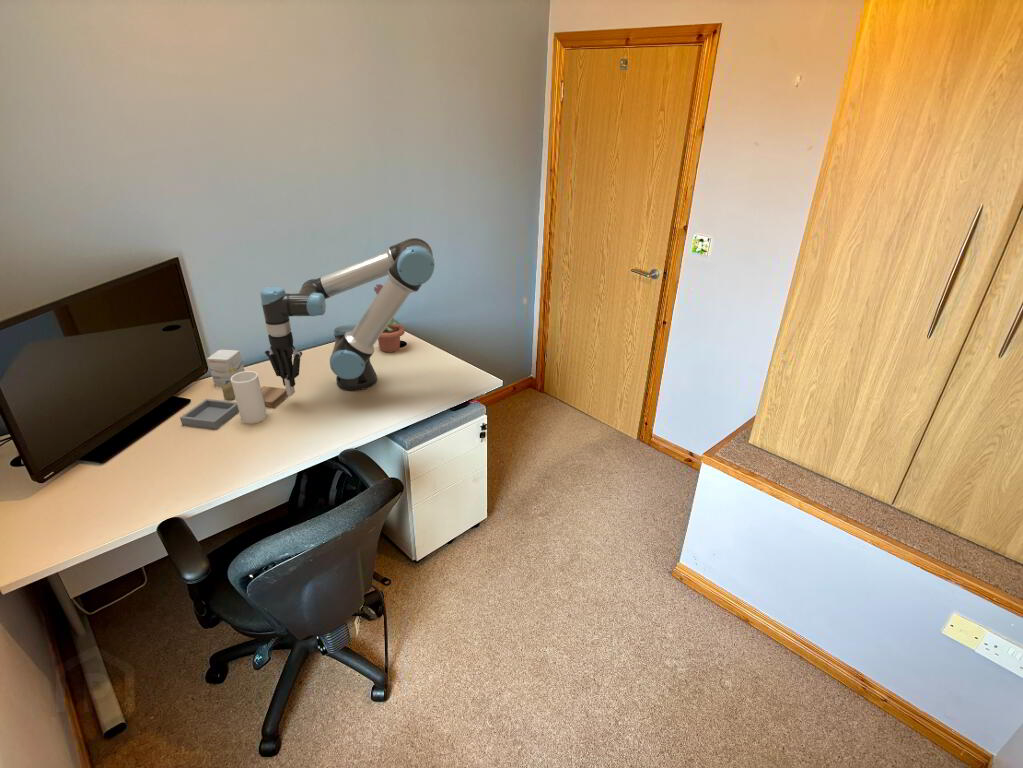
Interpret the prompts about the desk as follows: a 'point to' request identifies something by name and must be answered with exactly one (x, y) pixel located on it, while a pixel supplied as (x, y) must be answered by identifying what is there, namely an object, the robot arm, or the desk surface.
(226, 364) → the ink box
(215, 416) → the tray
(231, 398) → the bench dog
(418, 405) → the desk surface
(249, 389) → the cup
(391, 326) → the decorative flower
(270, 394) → the brown wooden square block
